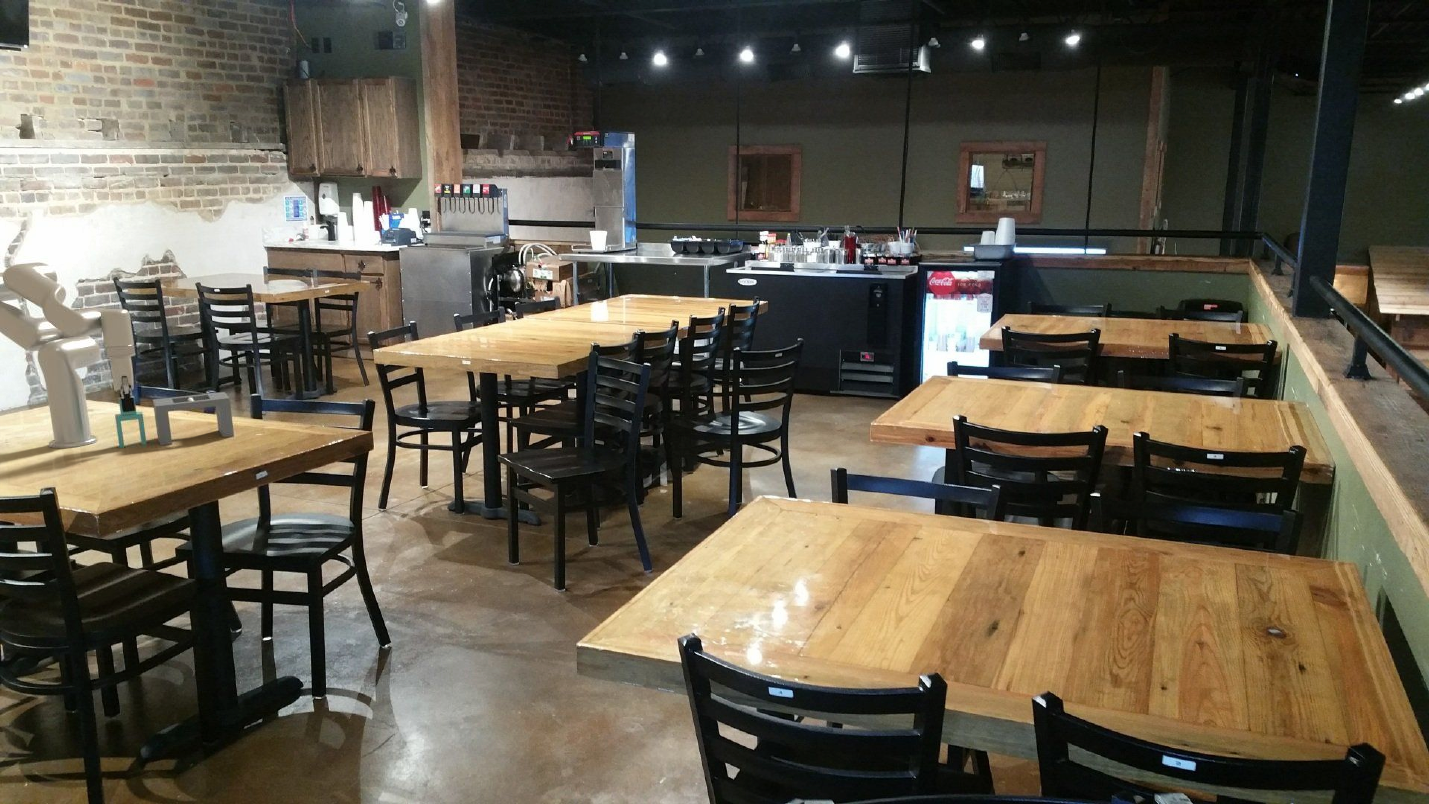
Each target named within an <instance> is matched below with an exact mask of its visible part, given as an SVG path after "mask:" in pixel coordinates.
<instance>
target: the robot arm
mask: <svg viewBox="0 0 1429 804" xmlns="http://www.w3.org/2000/svg"><path fill="white" fill-rule="evenodd" d="M66 296H67V291H66V289H65V287H64V286H63V285H62V284H59V283H58V275H57V272H56V271H55V269H53V267H52V266H51V265H48V264H47V263H44V262H27V263H18V264H17V263H16V264H12V265H11V266H9V267H7V268H6V269H5V270H4V271H3V272H0V333H1V334H2V335H4V336H5V337H6V338H8V339H9V340H11V342H13V343H14V344H16V345H18V346H19V347H21V348H22V349H24V350H26V351H28V352H37V362H38V364H39V365H38V366H39V367H40V370H41V372H42V375H43V380H44V384H45V389H46V395H47V400H48V408H49V413H50V420H51V421H50V422H51V425H52V426H51V427H52V432H53V433H52V434H53V439H52V440H50V441H49V442H48V446H49V447H50V448H53V449H67V448H70V449H71V448H78V447H83V446H88V445H91V444H94V443H97V442H98V441H99V439H98V436H97V435H93V434H92V431H91V426H90V420H89V418H90V417H89V413H88V412H89V411H88V406H87V405H88V404H87V397H86V392H85V385H84V382H83V380H82V378H81V377H80V375H79V374H78V372H77V371H76V370H78V369H82V368H86V367H90V366H93V365H94V364H96V363H97V362H99V361H100V357H101V348H100V345H99V344H98V343H97V341H96V340H95V339H94V338H92V337H91V336H92V335H99V334H102V338H103V339H102V340H103V344H104V345H103V346H104V353H105V358H106V359H110V368H111V375H112V376H111V377H112V383H113V390H114V391H115V392H118V391H119V397H122V399H121V403H122V410H123V412H131V411H135V405H136V404H135V405H134V398H135V397H134V398H133V397H132V396H133V392H132V391H133V390H134V389H135V388H134V371H133V362H132V357H134V356H136V351H135V343H134V342H135V341H134V335H133V329H132V327H133V326H132V322H131V315H130V312H129V310H128V309H125V308H112V309H111V308H105V307H95V308H94V307H93V308H86V309H79V310H74V309H72V308H70V307H68V306H67V305H64V304H63V303H64V301H65V300H66ZM21 299H26V300H27V301H29V302H30V303H33V304H34V305H36V306H37V307H39V308H40V309H42V313H43V316H44V317H33V316H31V315H29V314H27V313H26V312H24V311H23V310H21V309H20V308H19V307H17V306H14V305H12V304H9V303H6V302H7V301H15V300H21ZM5 301H6V302H5ZM130 397H131V398H130Z"/></svg>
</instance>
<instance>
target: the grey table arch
mask: <svg viewBox="0 0 1429 804" xmlns="http://www.w3.org/2000/svg"><path fill="white" fill-rule="evenodd" d="M152 404H153V412H154V413H153V414H154V420H155V421H154V422H155V427H156V435H157V439H158V442H159V444H160V446H169V445H173V440H172V439H173V438H172V433H171V432H172V431H171V425H170V416H169V412H175V411H176V412H177V411H184V410H185V411H186V410H193V409H202V408H212V407H215V413H216V421H217V422H216V423H217V429H218V432H219V433H220V435H221V436H222V437H223V438H224V439H225V438H231V437H232V438H233V437H235V432H234V425H233V424H234V423H233V416H232V415H233V414H232V406H231V398H230V397H229V395H228V394H227V393H226V392H225V391H221V392H212V393H203V394H194V395H193V394H192V395H185V396H182V395H181V396H174V397H166V398H165V397H164V398H155V399H152Z"/></svg>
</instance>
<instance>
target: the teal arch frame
mask: <svg viewBox="0 0 1429 804" xmlns="http://www.w3.org/2000/svg"><path fill="white" fill-rule="evenodd" d="M132 397H133V398H134V405H135V411H131V412H123V410H122V403H121V399H122V397H120V396H119V397H118V403H119V404H118V405H119V411H120V413H117V414H114V418H115V424H116V425H115V426H116V431H117V439H118V447H119V448H120V449H123V448H125V442H124V435H123V434H124V433H123V428H122V422H125V421H126V422H127V421H133V420H134V421H136V420H138V421H137V422H138V427H139V428H138V429H139V436H140V442H141V446H147V437H146V430H145V423H144V422H145V421H144V415H143V414H144V413H143V411H137V407H136V406H137V405H136V400H135V399H136V398H135V396H134V395H132ZM130 398H131V397H130Z"/></svg>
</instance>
